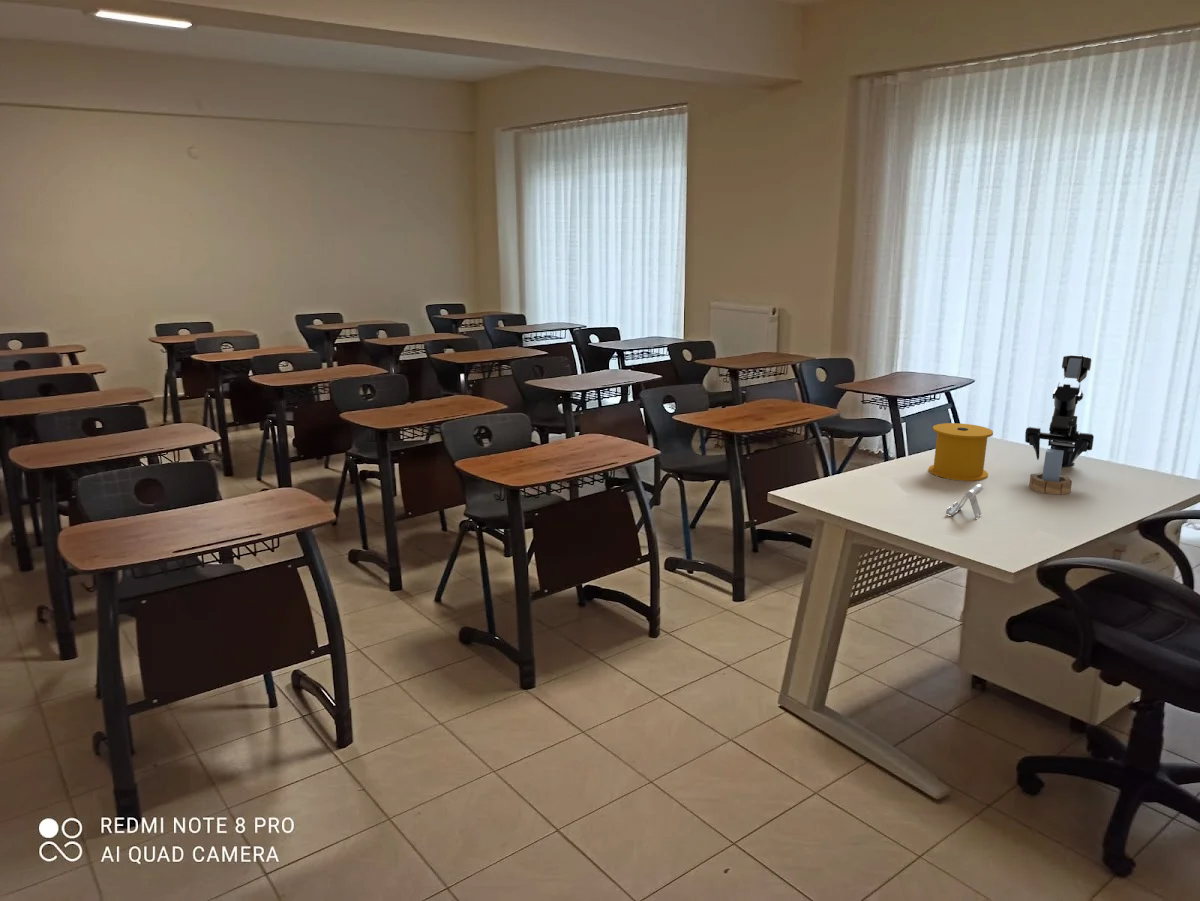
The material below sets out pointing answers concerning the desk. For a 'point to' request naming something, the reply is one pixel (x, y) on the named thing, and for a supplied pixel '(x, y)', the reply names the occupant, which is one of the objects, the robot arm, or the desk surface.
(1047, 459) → the light blue block
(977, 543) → the desk surface
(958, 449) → the spool
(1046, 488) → the octagonal cardboard ring
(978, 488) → the portable electronic device stand
